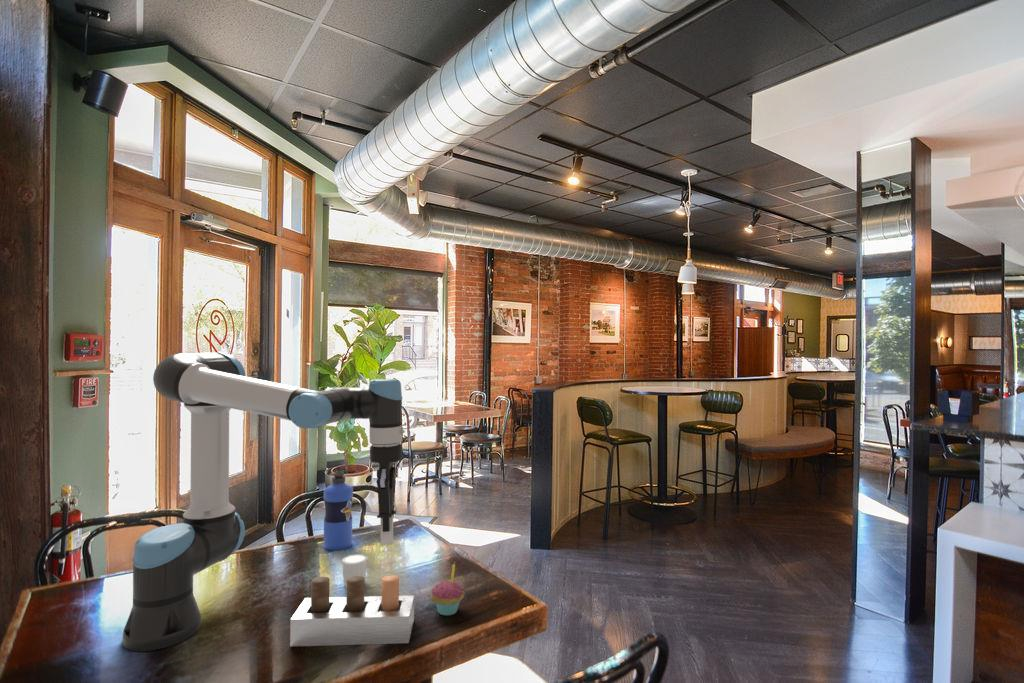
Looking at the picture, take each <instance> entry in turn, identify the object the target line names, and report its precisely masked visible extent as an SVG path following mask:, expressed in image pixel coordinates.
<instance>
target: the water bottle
mask: <svg viewBox="0 0 1024 683" xmlns="http://www.w3.org/2000/svg"><path fill="white" fill-rule="evenodd" d="M345 475H346V473H345V472H344V471H343V470H342V469H336V470H335V471H334V472H333V473H332V476H333V477H332V478H331V485H328V486H325V488H323V501H324V502H323V503H324V510H325V511H324V512H325V513H324V519H323V549H324V550H326V551H333V552H334V551H342V550H346V549H348V548H350V547H352V545H353V517H352V516H353V515H352V506H353V505H352V504H353V498H354V486H352V485H350V484H347V483H346V476H345Z"/></svg>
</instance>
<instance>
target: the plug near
mask: <svg viewBox="0 0 1024 683" xmlns="http://www.w3.org/2000/svg"><path fill="white" fill-rule="evenodd" d="M330 582H331V581H330V577H328V576H318V577H315V578H312V579H311V583H310V585H311V586H310V591H311V592H310V598H311V613H327V612H328V611H329V597H330V588H331V587H330Z"/></svg>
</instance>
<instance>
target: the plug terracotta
mask: <svg viewBox="0 0 1024 683" xmlns="http://www.w3.org/2000/svg"><path fill="white" fill-rule="evenodd" d="M380 588H381V590H380V591H381V592H380V594H381V611H397V610H398V609H399V596H400V576H398V575H393V574H392V575H386V576H383V577H382V578H381V587H380Z"/></svg>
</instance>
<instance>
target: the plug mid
mask: <svg viewBox="0 0 1024 683" xmlns="http://www.w3.org/2000/svg"><path fill="white" fill-rule="evenodd" d="M345 592H346V595H345V597H346V612H362V611H363V610H364V597H365V583H364V577H362V576H353V577H350V578H348V579H347V587H346V591H345Z"/></svg>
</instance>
